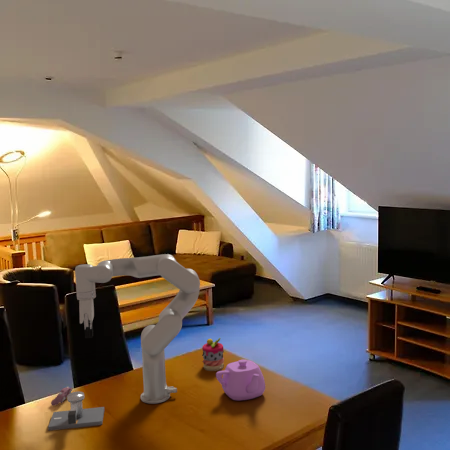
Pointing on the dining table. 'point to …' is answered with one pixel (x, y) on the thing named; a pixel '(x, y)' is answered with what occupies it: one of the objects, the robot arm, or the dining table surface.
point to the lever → (75, 406)
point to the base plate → (88, 419)
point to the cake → (213, 355)
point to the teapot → (242, 380)
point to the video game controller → (61, 396)
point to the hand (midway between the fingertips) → (89, 337)
